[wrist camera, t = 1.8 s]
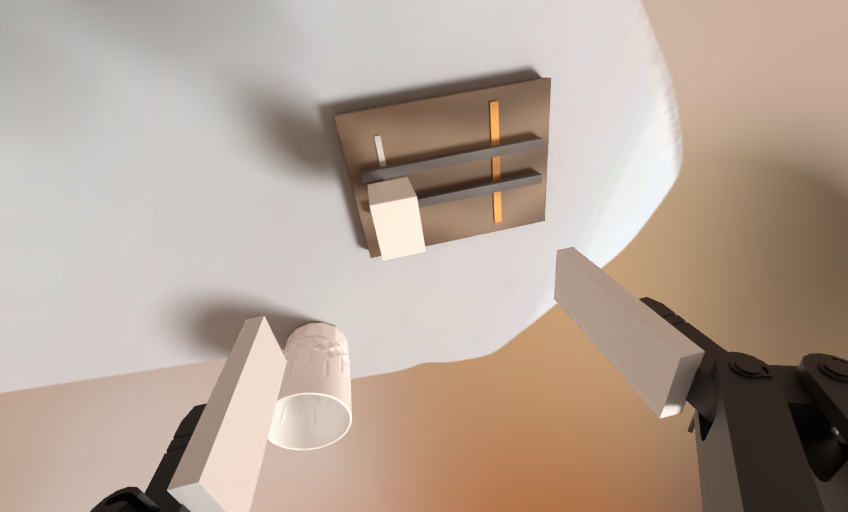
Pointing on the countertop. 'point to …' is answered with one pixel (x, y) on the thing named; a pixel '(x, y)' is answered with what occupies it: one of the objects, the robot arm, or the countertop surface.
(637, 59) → the countertop surface
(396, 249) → the block
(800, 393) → the robot arm
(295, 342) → the white cup
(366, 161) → the board
